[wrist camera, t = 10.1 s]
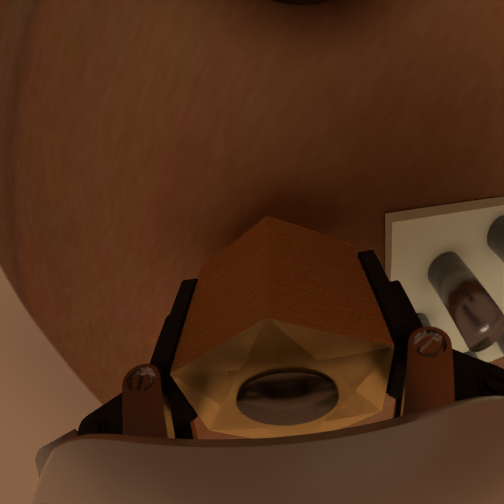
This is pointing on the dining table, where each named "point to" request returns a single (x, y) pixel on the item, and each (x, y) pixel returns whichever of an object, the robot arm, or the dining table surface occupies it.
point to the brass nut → (283, 336)
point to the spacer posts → (469, 296)
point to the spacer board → (440, 241)
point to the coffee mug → (300, 1)
